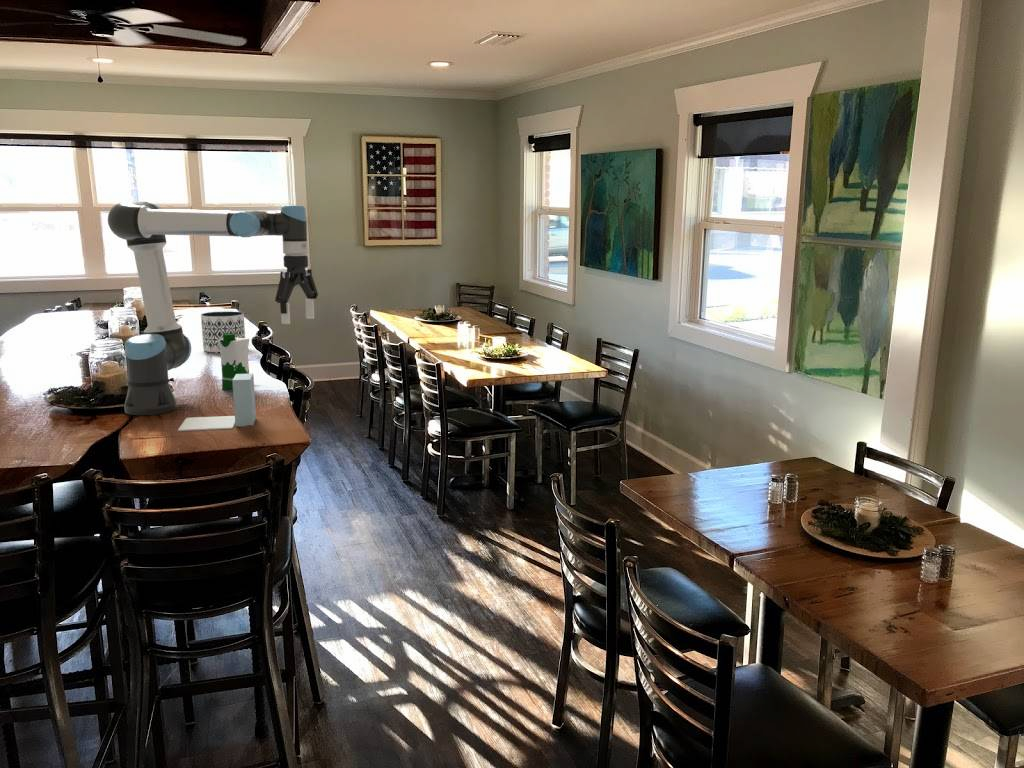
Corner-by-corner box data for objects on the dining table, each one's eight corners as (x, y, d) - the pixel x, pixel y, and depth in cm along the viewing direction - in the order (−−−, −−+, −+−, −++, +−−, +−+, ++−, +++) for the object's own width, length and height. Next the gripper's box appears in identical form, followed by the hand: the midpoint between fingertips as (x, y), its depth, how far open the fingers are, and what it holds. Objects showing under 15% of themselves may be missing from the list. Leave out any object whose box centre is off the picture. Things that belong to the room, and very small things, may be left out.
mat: (177, 431, 231) (177, 429, 231) (186, 419, 245) (186, 417, 245) (232, 428, 235) (232, 427, 234) (238, 416, 248) (238, 415, 248)
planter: (237, 353, 356) (235, 316, 353) (197, 353, 356) (194, 316, 353) (251, 346, 374) (249, 311, 370) (212, 346, 374) (209, 311, 371)
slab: (235, 426, 237) (232, 380, 234) (239, 418, 246) (236, 374, 243) (253, 425, 238) (250, 379, 235) (256, 418, 247) (253, 373, 244)
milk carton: (218, 390, 284) (214, 334, 280) (236, 385, 292) (233, 330, 288) (237, 392, 280) (233, 336, 276) (255, 387, 288) (252, 332, 284)
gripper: (282, 257, 243) (285, 326, 248) (327, 253, 266) (329, 317, 271) (261, 256, 246) (264, 325, 250) (307, 252, 269) (310, 315, 273)
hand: (298, 321), depth 261 cm, fingers open, 13 cm apart
